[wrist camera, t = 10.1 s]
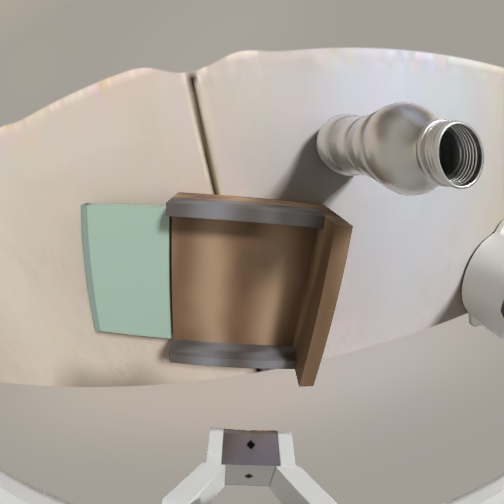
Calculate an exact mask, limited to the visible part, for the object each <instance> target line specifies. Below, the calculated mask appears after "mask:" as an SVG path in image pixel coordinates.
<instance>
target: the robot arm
mask: <svg viewBox="0 0 504 504" xmlns="http://www.w3.org/2000/svg"><path fill="white" fill-rule="evenodd" d="M462 301H463V304H464V307H465V308H466V310H467V311H468V313H469V322H470V324H471V325H472V326H474V327H475V326H478V325H483V326H484V327H485V328H486V329H488V330H489V331H490V332H492V333H493V334H494V335H496V336H497V337H498V338H500V339H503V338H504V220H503V221H502V222H501V223H500V224H499V226H498V227H497V229H496V231H495V232H494V233H493V234H492V235H491V236H489V237H488V238H487V239H486V240H484V241H483V242H482V244H481V245H480V246H479V247H478V249H477V250H476V251H475V253H474V255H473V256H472V258H471V260H470V262H469V264H468V267H467V269H466V272H465V275H464V279H463V284H462ZM224 485H248V486H269V488H270V489H271V490H272V492H273V493H274V494H275V496H276V497H277V498H278V500H279V501H280V502H281V504H337V503H336V502H335V501H334V500H333V499H332V498H331V497H330V496H329V495H328V494H327V493H326V492H325V491H324V490H323V489H322V488H321V487H320V486H319V485H318V484H317V483H316V482H315V481H314V480H313V479H312V478H311V477H310V476H309V475H308V474H307V473H306V472H305V471H304V470H303V469H302V468H301V467H300V466H296V465H295V457H294V449H293V442H292V434H291V432H290V431H256V430H255V431H254V430H250V431H247V430H233V429H223V428H210V430H209V436H208V444H207V453H206V462H205V463H200V464H199V466H197V468H195V469H194V470H193V471H192V472H191V473H190V474H189V475H188V476H187V477H186V478H185V479H184V480H183V481H182V482H181V483H180V484H179V485H178V486H177V487H176V488H174V489H173V490H172V491H171V492H170V493H169V494H168V495H167V496H166V497H165V498H163V502H162V504H210V503H211V501H212V500H213V499H214V498H215V497H216V495H217V494H218V493H219V492H220V491H221V489H222V488H223V487H224ZM0 504H72V503H70V502H67V501H65V500H63V499H60V498H58V497H56V496H53V495H51V494H49V493H47V492H44V491H43V490H41V489H39V488H37V487H35V486H32V485H30V484H29V483H27V482H25V481H23V480H21V479H19V478H17V477H16V476H14V475H12V474H10V473H9V472H7V471H5V470H4V469H2V468H0ZM442 504H504V474H502V475H500V476H498V477H497V478H495V479H493V480H491V481H489V482H487V483H485V484H484V485H482V486H480V487H478V488H476V489H474V490H472V491H469V492H467V493H465V494H463V495H461V496H459V497H456V498H454V499H452V500H449V501H447V502H445V503H442Z"/></svg>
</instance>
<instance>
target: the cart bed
mask: <svg viewBox="0 0 504 504" xmlns="http://www.w3.org/2000/svg"><path fill="white" fill-rule="evenodd" d="M166 216H172V315H173V338H174V339H173V342H172V346H171V350H170V353H169V357H170V362H174V363H184V364H194V365H206V366H220V367H238V368H265V369H295V371H296V375H297V379H298V383H299V386H313V385H314V382H315V379H316V375H317V372H318V369H319V365H320V362H321V359H322V355H323V352H324V348H325V345H326V341H327V337H328V334H329V330H330V326H331V322H332V318H333V315H334V311H335V307H336V302H337V298H338V294H339V290H340V286H341V281H342V277H343V272H344V268H345V263H346V258H347V253H348V248H349V243H350V238H351V233H352V228H353V226H352V225H350V224H349V223H348V222H346V221H345V220H344V219H342V218H341V217H340V216H338V215H337V214H336V213H334V212H333V211H332V210H330V209H329V208H327V207H326V206H325V205H320V204H312V203H303V202H293V201H283V200H273V199H262V198H251V197H239V196H226V195H212V194H197V193H179V192H178V193H177V194H176V195H175V196H174V197H172V198H171V199H170V200H169V201H168V202H167V203H166Z"/></svg>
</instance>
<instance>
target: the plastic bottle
mask: <svg viewBox="0 0 504 504" xmlns="http://www.w3.org/2000/svg"><path fill="white" fill-rule="evenodd" d="M316 143H317V150H318V154H319V156H320V158H321V159H322V161H323V162H324V163H325V164H326V165H327V166H328V167H329V168H330V169H331V170H333V171H334V172H336V173H339V174H341V175H346V176H357V175H367V176H369V177H371V178H373V179H375V180H376V181H378V182H379V183H380V184H382V185H383V186H385V187H386V188H388V189H390V190H392V191H394V192H396V193H398V194H402V195H406V196H408V195H420V194H424V193H428V192H430V191H432V190H434V189H435V188H436V187H438V186H439V185H441V186H447V187H449V186H450V187H454V188H459V189H464V188H468V187H470V186H472V185H473V184H474V183H475V182H476V181H477V180H478V178H479V177H480V175H481V172H482V169H483V164H484V152H483V147H482V143H481V140H480V138H479V136H478V135H477V133H476V132H475V130H474V129H473V128H472V127H471V126H469V125H468V124H466V123H464V122H460V121H449V120H445V119H439V118H438V117H437V116H436V115H435V114H434V113H433V112H431V111H430V110H428V109H427V108H424V107H422V106H419V105H416V104H413V103H408V102H398V103H394V104H391V105H388V106H385V107H383V108H381V109H379V110H378V111H376V112H374V113H372V114H370V115H367V116H357V115H351V114H342V115H337V116H335V117H332V118H331V119H329V120H328V121H327V122H326V123H325V124H324V125H323V126H322V127H321V129H320V131H319V133H318V136H317V141H316Z"/></svg>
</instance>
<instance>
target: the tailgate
mask: <svg viewBox="0 0 504 504" xmlns="http://www.w3.org/2000/svg"><path fill="white" fill-rule="evenodd" d="M171 219H172V216H166V206H165V205H140V204H107V203H85V204H83V205H81V225H82V239H83V251H84V261H85V270H86V278H87V285H88V292H89V299H90V305H91V311H92V317H93V322H94V327H95V330H97V331H105V332H113V333H121V334H129V335H139V336H149V337H159V338H171V337H172V332H173V328H172V300H171Z"/></svg>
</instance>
